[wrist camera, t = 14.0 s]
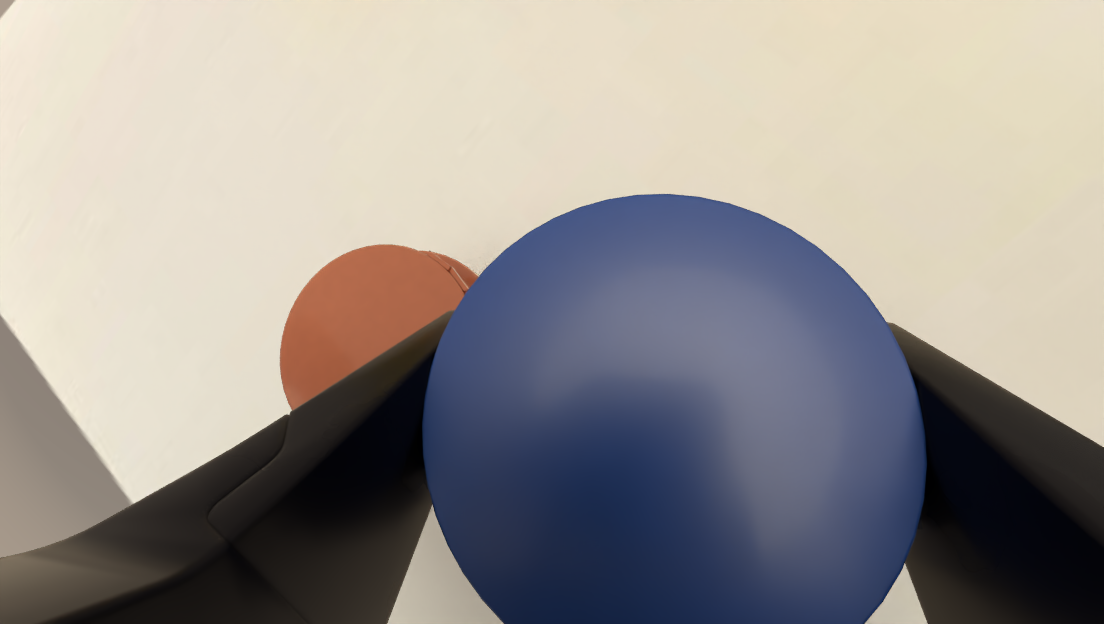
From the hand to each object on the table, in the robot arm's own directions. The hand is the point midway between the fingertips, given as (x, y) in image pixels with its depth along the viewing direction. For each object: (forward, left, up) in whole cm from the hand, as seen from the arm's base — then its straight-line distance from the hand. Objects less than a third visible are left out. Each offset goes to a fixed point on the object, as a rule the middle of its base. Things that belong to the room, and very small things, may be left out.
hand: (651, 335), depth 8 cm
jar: (-4, +6, -13) cm, 14 cm away
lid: (-1, -1, +1) cm, 2 cm away
